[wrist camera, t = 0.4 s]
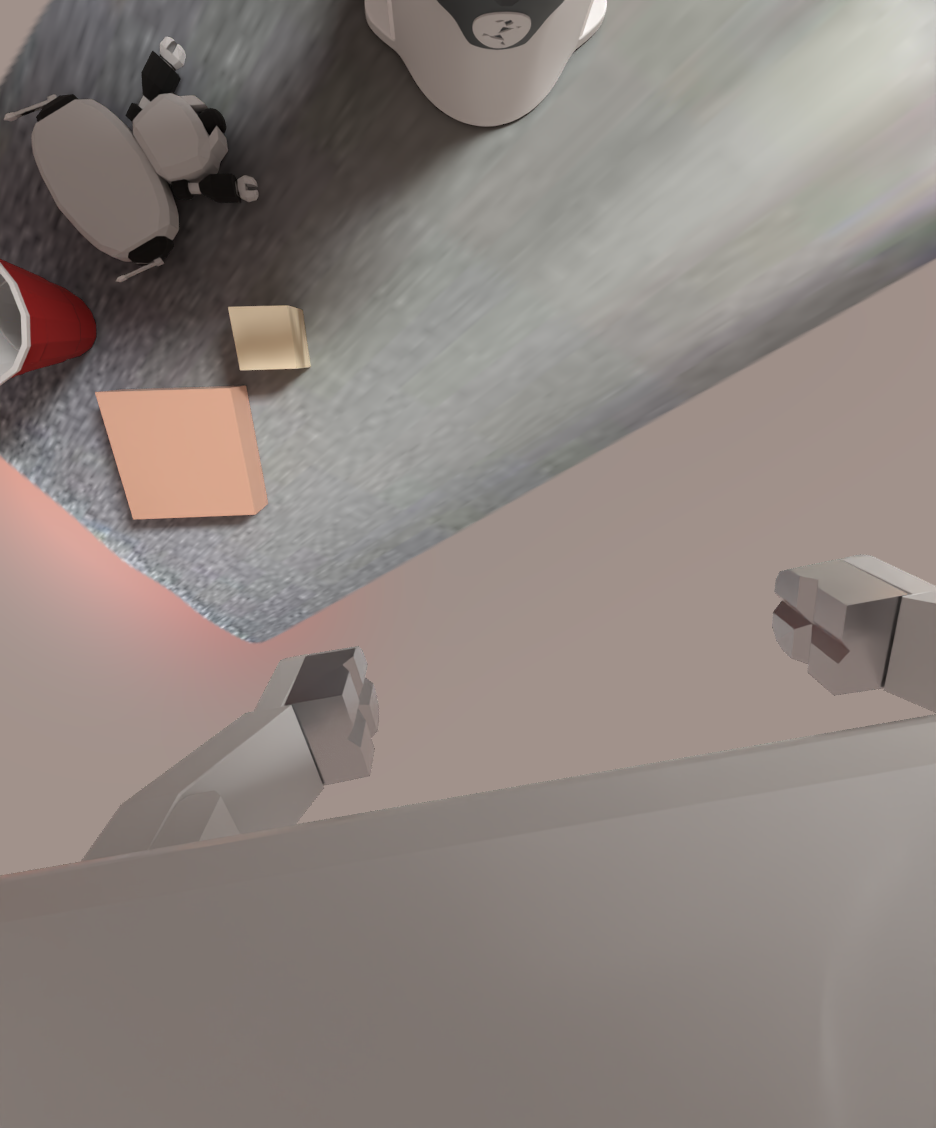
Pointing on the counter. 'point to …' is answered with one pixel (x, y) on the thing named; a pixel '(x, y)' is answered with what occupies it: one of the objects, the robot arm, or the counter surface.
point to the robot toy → (134, 162)
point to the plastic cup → (39, 323)
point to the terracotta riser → (185, 451)
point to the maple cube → (269, 337)
